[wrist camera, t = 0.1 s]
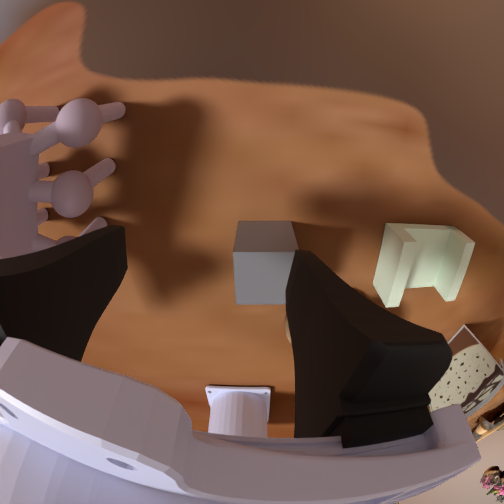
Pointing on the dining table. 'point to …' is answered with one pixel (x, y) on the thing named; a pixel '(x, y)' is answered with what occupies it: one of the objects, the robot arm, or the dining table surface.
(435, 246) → the pale green flanged block
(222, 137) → the dining table surface
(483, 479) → the bouquet
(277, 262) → the gray metal block
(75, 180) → the toy sheep
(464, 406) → the food container
